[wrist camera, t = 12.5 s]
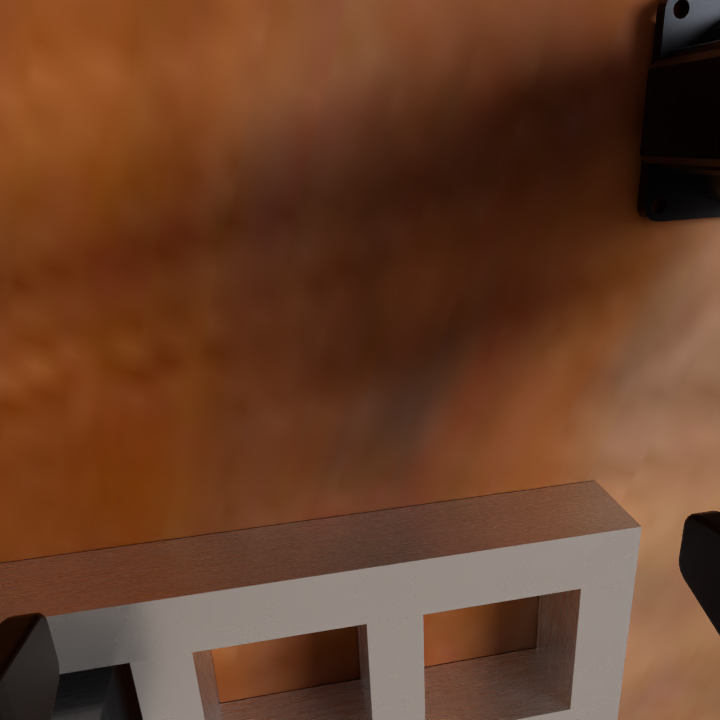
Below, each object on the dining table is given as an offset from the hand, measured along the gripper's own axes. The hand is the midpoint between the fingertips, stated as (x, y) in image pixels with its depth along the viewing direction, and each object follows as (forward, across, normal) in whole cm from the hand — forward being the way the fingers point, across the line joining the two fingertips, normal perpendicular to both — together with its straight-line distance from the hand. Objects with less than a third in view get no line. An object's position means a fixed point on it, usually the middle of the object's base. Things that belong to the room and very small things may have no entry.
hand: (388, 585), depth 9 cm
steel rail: (+12, +2, +12) cm, 17 cm away
